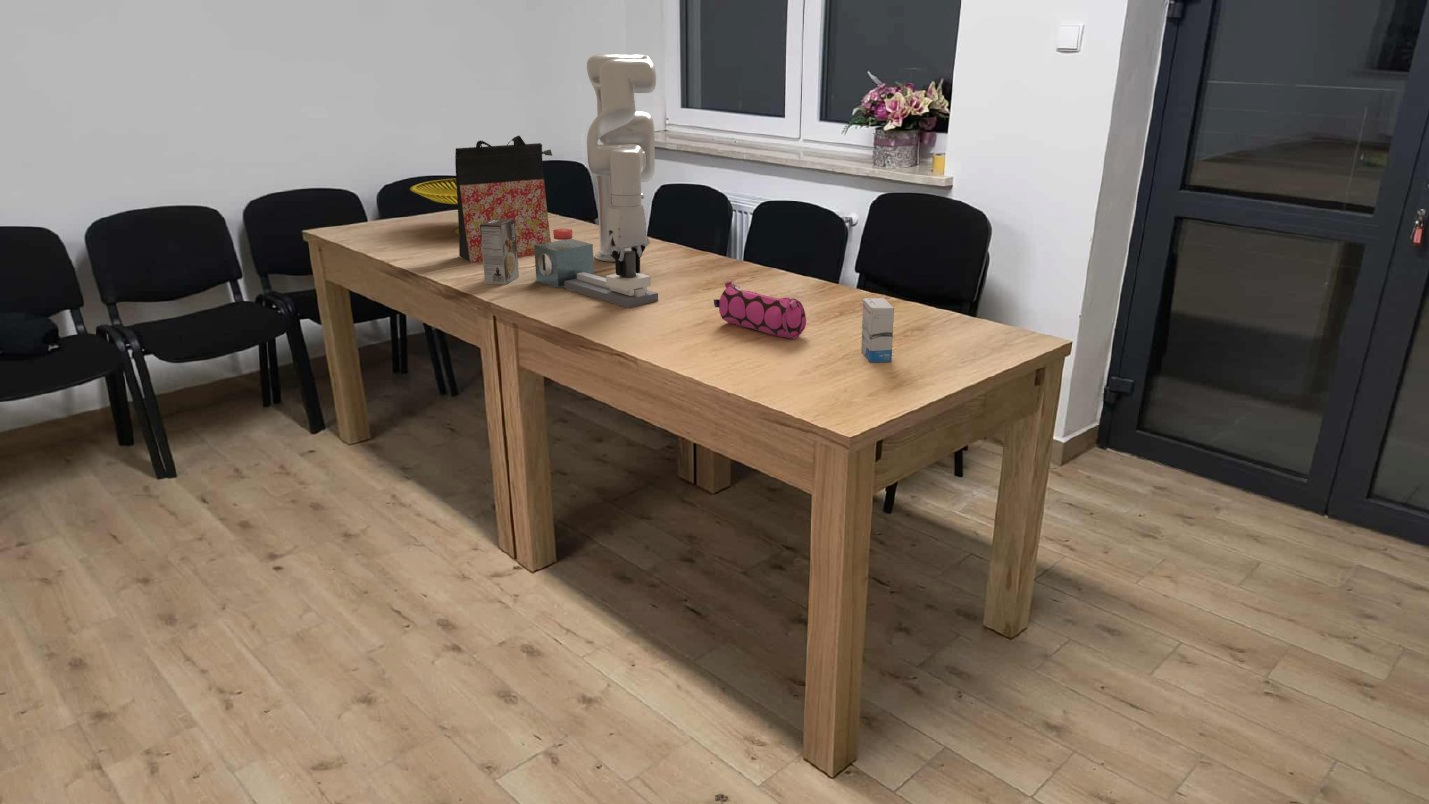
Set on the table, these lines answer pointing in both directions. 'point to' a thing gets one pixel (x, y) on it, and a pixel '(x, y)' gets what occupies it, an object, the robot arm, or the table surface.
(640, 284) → the carriage
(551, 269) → the cabinet
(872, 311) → the ink box
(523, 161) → the gift bag
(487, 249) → the coffee box
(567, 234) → the button
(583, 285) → the rail bed
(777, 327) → the pencil case
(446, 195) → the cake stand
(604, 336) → the table surface
